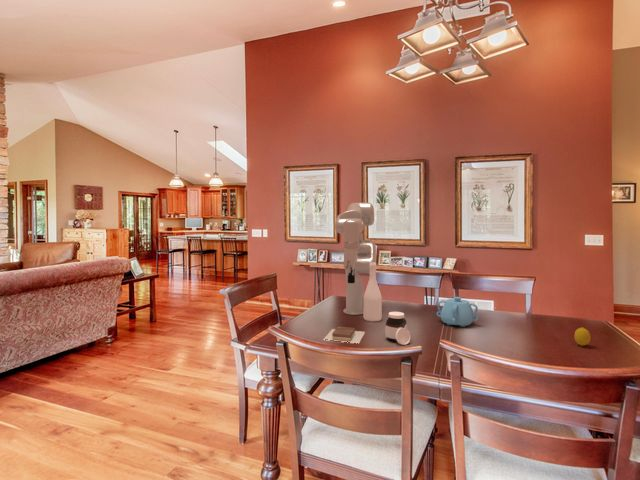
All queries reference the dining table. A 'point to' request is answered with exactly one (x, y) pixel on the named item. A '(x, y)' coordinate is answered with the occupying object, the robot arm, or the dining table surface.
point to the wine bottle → (372, 298)
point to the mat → (355, 339)
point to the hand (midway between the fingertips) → (351, 282)
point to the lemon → (582, 336)
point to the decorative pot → (457, 312)
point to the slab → (343, 334)
